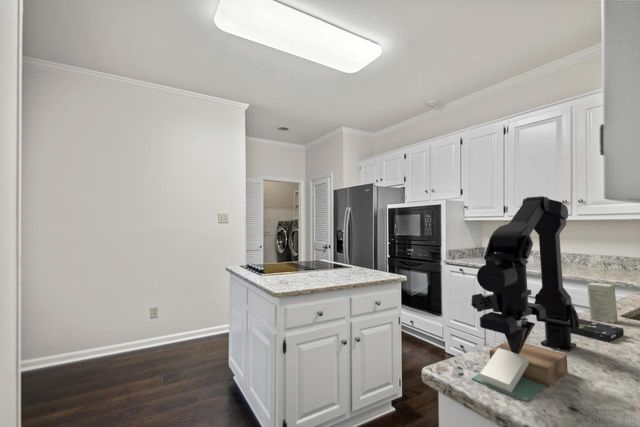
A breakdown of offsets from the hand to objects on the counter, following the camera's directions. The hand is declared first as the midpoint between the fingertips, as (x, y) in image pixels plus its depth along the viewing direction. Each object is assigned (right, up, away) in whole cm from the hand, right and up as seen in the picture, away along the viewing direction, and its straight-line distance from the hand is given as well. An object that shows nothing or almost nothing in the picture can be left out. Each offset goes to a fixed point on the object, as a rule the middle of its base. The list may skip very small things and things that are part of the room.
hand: (515, 354), depth 70 cm
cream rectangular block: (-3, -3, -2) cm, 5 cm away
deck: (+5, -5, +3) cm, 8 cm away
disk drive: (+38, -5, +26) cm, 46 cm away
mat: (-3, -5, -3) cm, 7 cm away
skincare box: (+52, -5, +35) cm, 63 cm away
